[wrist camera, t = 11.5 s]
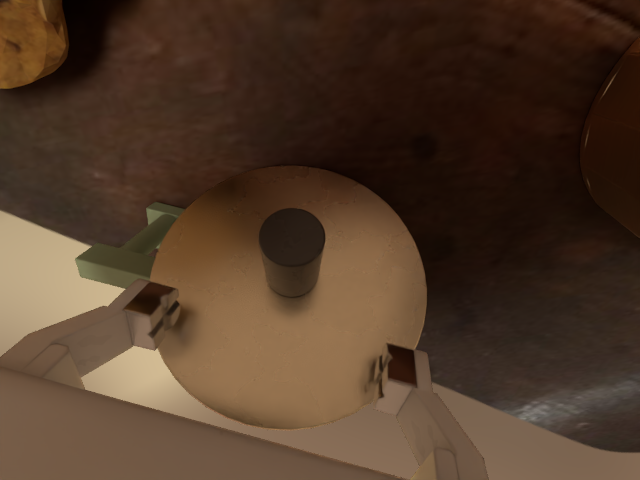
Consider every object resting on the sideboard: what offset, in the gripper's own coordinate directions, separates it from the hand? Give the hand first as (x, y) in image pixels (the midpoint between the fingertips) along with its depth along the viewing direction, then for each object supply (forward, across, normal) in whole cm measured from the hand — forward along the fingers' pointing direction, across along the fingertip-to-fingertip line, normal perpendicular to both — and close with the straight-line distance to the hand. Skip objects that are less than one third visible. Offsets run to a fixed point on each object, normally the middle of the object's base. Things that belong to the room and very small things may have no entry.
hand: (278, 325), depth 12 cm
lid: (+3, 0, 0) cm, 3 cm away
